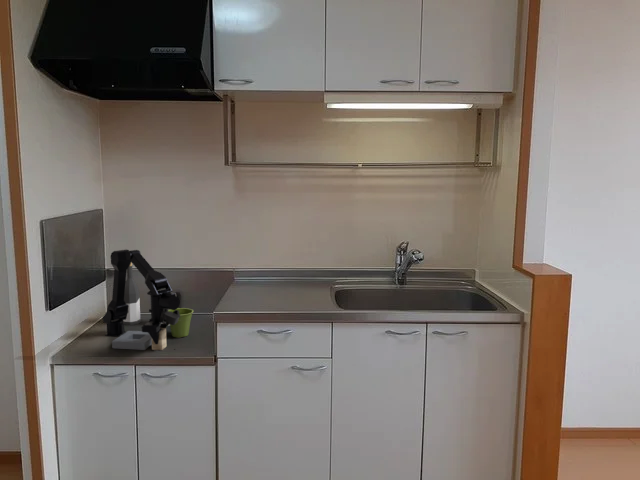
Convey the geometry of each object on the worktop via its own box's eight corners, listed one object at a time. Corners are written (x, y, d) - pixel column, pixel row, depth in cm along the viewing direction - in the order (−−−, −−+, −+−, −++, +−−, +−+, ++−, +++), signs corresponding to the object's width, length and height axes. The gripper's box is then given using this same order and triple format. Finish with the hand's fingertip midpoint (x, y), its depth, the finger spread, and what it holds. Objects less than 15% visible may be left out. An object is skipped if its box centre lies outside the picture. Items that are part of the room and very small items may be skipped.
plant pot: (194, 338, 209) (194, 314, 207) (166, 340, 205) (166, 315, 204) (193, 330, 220) (192, 307, 218) (166, 332, 216) (166, 308, 215)
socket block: (112, 348, 195) (112, 341, 195) (129, 337, 209) (128, 330, 209) (144, 349, 194) (144, 342, 194) (159, 338, 208) (158, 332, 207)
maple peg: (151, 349, 194) (151, 331, 193) (156, 345, 199) (156, 327, 198) (162, 350, 194) (161, 331, 193) (166, 346, 198) (166, 328, 197)
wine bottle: (124, 320, 232) (121, 261, 229) (141, 319, 234) (139, 261, 231) (121, 325, 225) (119, 264, 221) (139, 324, 227) (137, 263, 223)
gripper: (167, 313, 184) (168, 351, 186) (185, 301, 203) (186, 335, 205) (140, 311, 185) (141, 349, 187) (160, 300, 204) (161, 334, 206)
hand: (159, 342), depth 196 cm, fingers closed on maple peg, 4 cm apart
